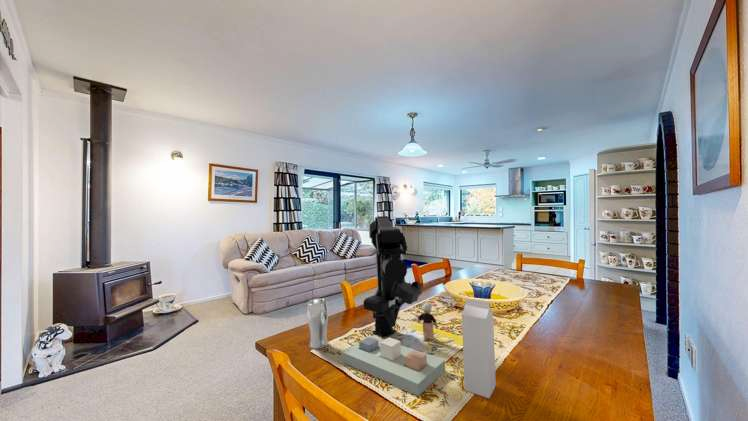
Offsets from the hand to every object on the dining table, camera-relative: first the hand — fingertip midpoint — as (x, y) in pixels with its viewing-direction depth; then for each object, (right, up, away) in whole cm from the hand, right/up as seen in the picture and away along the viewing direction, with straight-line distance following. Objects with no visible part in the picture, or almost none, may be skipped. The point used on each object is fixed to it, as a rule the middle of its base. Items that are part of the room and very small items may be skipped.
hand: (392, 326), depth 84 cm
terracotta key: (+6, -10, -5) cm, 13 cm away
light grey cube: (0, -9, 0) cm, 9 cm away
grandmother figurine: (+13, -11, +16) cm, 24 cm away
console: (0, -12, 0) cm, 12 cm away
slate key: (-7, -11, +6) cm, 14 cm away
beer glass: (-24, -13, +15) cm, 31 cm away
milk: (+21, -11, -12) cm, 27 cm away
